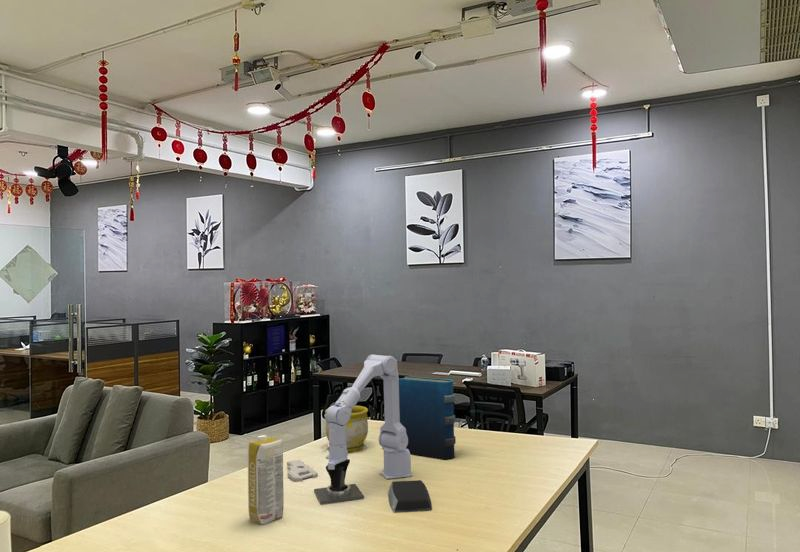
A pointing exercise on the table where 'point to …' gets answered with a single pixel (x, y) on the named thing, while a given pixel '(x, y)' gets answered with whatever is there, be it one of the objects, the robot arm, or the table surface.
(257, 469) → the juice carton
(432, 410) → the book
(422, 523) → the table surface
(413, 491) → the external hard drive
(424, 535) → the table surface
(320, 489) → the metal base plate
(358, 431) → the flowerpot
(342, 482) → the blue-grey cylinder
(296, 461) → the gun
